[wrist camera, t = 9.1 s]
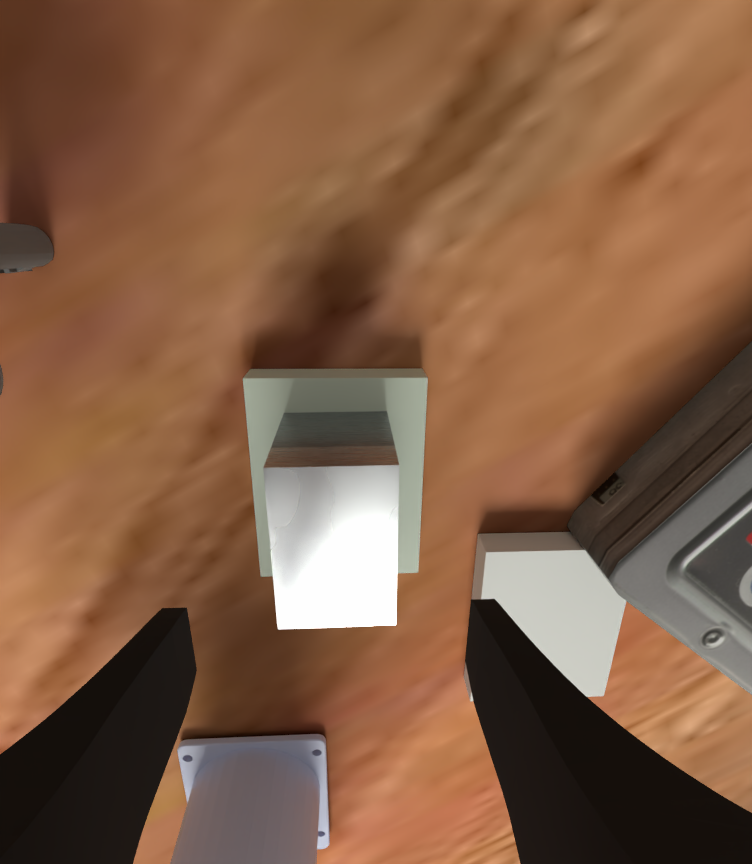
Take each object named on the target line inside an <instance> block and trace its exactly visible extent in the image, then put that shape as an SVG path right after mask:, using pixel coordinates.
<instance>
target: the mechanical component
mask: <svg viewBox="0 0 752 864" xmlns="http://www.w3.org/2000/svg"><path fill="white" fill-rule="evenodd" d="M53 255H54V251H53V246H52V243H51V241H50V239H49V237H48V236H47V235H46V234H45V233H44V232H43V231H42V230H40V229H39V228H37V227H34V226H31V225H25V224H12V223H0V273H14V272H22V271H32V269H31V268H33V267H38V266H44V265H46V264H48V263H49V262H50V261H51V260H53ZM2 389H3V374H2V368H1V365H0V395H1V393H2Z"/></svg>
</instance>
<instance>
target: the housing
mask: <svg viewBox="0 0 752 864" xmlns="http://www.w3.org/2000/svg"><path fill="white" fill-rule="evenodd" d="M263 471H264V482H265V493H266V505H267V516H268V527H269V538H270V549H271V560H272V572H273V583H274V594H275V605H276V616H277V628H278V630H280V629H306V628H333V627H359V626H386V625H396V606H397V557H398V508H399V461H398V457H397V453H396V448H395V444H394V440H393V435H392V431H391V427H390V422H389V418H388V414H387V411H365V412H302V413H284V414H283V417H282V419H281V422H280V425H279V427H278V430H277V433H276V435H275V438H274V441H273V443H272V446H271V449H270V451H269V454H268V457H267V459H266V462H265V464H264V467H263Z"/></svg>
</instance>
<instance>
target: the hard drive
mask: <svg viewBox="0 0 752 864" xmlns="http://www.w3.org/2000/svg"><path fill="white" fill-rule="evenodd" d="M567 527H568V528H569V530H570V531H571V533H572V534H573V535H574V537H575V538H576V539H577V540H578V542H579V543H580V544H581V546H582V547H583V548H584V550H585V551H586V552H587V554H588V555H589V557H590V559H591V560H592V561H593V562H594V564H595V565H596V566H597V568H598V569H599V570H600V572H601V573H602V574H603V576H604V577H605V578H606V579H607V581H608V582H609V583H610V585H611V586H612V587H613V589H614V590H615V591H616V592H617V594H618V595H619V596H621V597H622V598H623V599H625V600H626V601H627V602H629V603H630V604H631V605H633V606H634V607H635V608H637V609H638V610H639V611H641V612H642V613H643V614H645V615H646V616H647V617H649V618H650V619H651V620H653V621H654V622H655V623H657V624H658V625H659V626H661V627H662V628H663V629H665V630H666V631H667V632H669V633H670V634H671V635H673V636H674V637H675V638H677V639H678V640H679V641H681V642H682V643H683V644H685V645H686V646H687V647H689V648H690V649H691V650H693V651H694V652H695V653H697V654H698V655H699V656H701V657H702V658H703V659H705V660H706V661H707V662H709V663H710V664H711V665H713V666H714V667H715V668H717V669H718V670H719V671H721V672H722V673H723V674H725V675H726V676H727V677H729V678H730V679H731V680H733V681H734V682H735V683H737V684H738V685H739V686H741V687H742V688H743V689H745V690H746V691H747V692H749V693H750V694H751V695H752V341H751V342H750V343H749V344H748V345H747V346H746V347H745V348H744V349H743V350H742V351H741V352H740V353H739V354H738V355H737V356H736V357H735V358H734V359H733V360H732V361H731V362H729V363H728V364H727V365H726V366H725V367H724V368H723V369H722V370H721V371H720V372H719V373H718V374H717V375H716V376H715V377H714V378H713V379H712V380H711V381H710V382H709V383H708V384H707V385H705V386H704V387H703V388H702V389H701V390H700V391H699V392H698V393H697V394H696V395H695V396H694V397H693V398H692V399H691V400H690V401H689V402H688V403H687V404H686V405H685V406H684V407H682V408H681V409H680V410H679V411H678V412H677V413H676V414H675V415H674V416H673V417H672V418H671V419H670V420H669V421H668V422H667V423H666V424H665V425H664V426H663V427H662V428H661V429H660V430H658V431H657V432H656V433H655V434H654V435H653V436H652V437H651V438H650V439H649V440H648V441H647V442H646V443H645V444H644V445H643V446H642V447H641V448H640V449H639V450H638V451H637V452H635V453H634V454H633V455H632V456H631V457H630V458H629V459H628V460H627V461H626V462H625V463H624V464H623V465H622V466H621V467H620V468H619V469H618V470H617V471H616V472H615V473H614V474H613V475H611V476H610V477H609V478H608V479H607V480H606V481H605V482H604V483H603V484H602V485H601V486H600V487H599V488H598V489H597V490H596V491H595V492H594V493H593V494H592V495H591V496H590V497H588V498H587V499H586V500H585V501H584V502H583V503H582V504H581V505H580V506H579V507H578V508H577V509H576V510H575V511H574V513H573V515H572V517H571V518H570V520H569V522H568V524H567Z"/></svg>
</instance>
